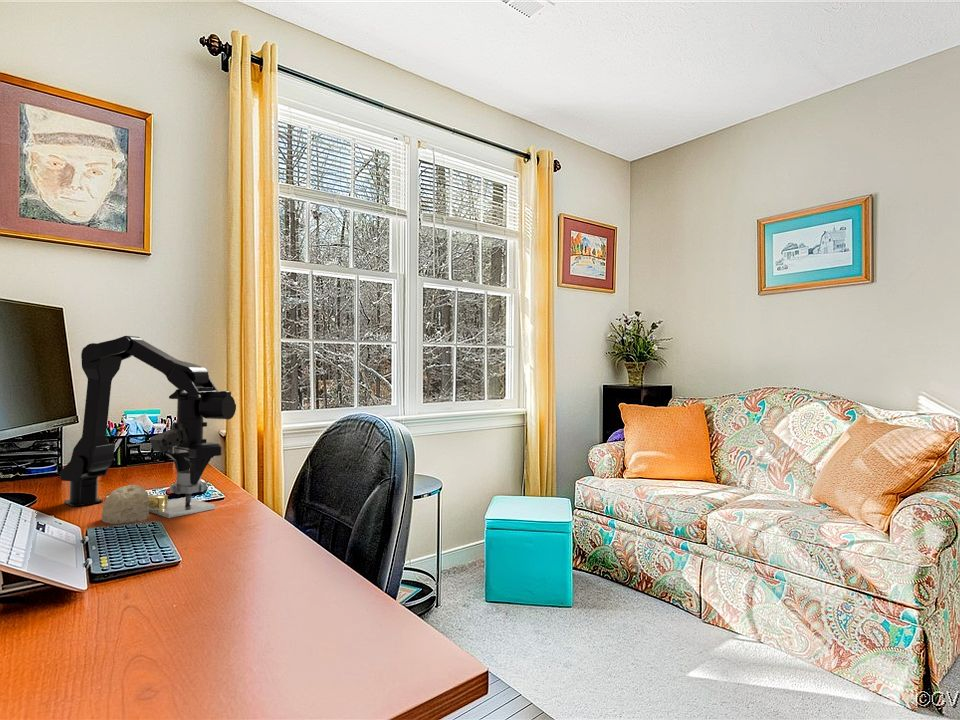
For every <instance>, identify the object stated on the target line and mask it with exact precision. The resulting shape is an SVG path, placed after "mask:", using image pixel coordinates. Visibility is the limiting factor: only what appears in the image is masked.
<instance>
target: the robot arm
mask: <svg viewBox="0 0 960 720" xmlns="http://www.w3.org/2000/svg"><path fill="white" fill-rule="evenodd" d="M80 353H81V355H80V356H81V357H80V358H81V360H80V361H81V369H82V371H83V372H84V374H85V376H86V379H87V384H86V385H87V387H86V394H85V404H84V414H83V424H82V434H81V438H80V439H79V440H78V442H77V443H76V444H75V446H74V448H73V450H72V452H71V453H72V454H71V457H70V461H69V462H68V463H67V464H66V465H65V466H64V467H63V468H62V469H61V470H60V471H59V477H60V480H61V481H62V482H69V500H68V499H67V500H63V504H65V505H68V506H71V507H80V506H86V505H87V506H88V505H93V504H94V505H95V504H99V503H103V502H104V500H103V499H101V498H98V492H99V491H98V485H99V483H98V482H99V481H98V480H99V477H103V476H106V475H107V472H108V469H109V467H110V466H112V462H113V461H114V460H115V449H116V445H115V443H110V442H109V439H108V438H107V432H108V431H107V429H108V420H109V411H110V401H111V389H112V383H113V382H112V381H113V379H114V378H115V376H116V375H117V373H118V372H119V370H120V369H121V365H122V361H123V360H126V359H130V358H131V357H134V358H136V359H137V360H139V361H140V362H143V363H144V364H146V365H148V366H150V367H151V368H153V369H155V370H156V371H159V372H160V373H162V374H163V375H165V377H166V379H167V381H168V382H169V383H171V384H172V385H173V386H174V387H176V388H177V389H175V391H174V392H173V393H171V394H170V395H169V396H168V399H169V400H177V403H176V404H177V406H176V407H177V408H176V421H175V422H173V423H172V424H171V429H169V430H166V431H163V432H160V433H158V434H156V435H154V436H151V437H150V438H149V441H150V442H149V443H150V445H151V447H152V450H153V452H159V453H165V455H166V456H167V457H169V458H171V459H172V460H173V463H174V465H175V469H176V473H177V472H179V471H185V470H190V477H191V484H192V485H195V484H197V483H198V481H199V479H200V477H201V478H202V475H203V473H204V471H205V469H206V468H207V466H208V464H209V462H211V459H213V458H214V457H219V456H222V454H223V453H222V451H223V446H222V445H220V444H219V443H217V442H211V441H209V442H207V438H204V427H205V428H206V427H207V426H208V422H206V421H204V419H208V420H231V419H232V418H233V417H234V416H235V414H236V410H237V404H236V401H235V399H234V397H233V396H232V391H231V390H220V391H219V390H218V389H217V388H216V386H215V384H214V383H213V381H212V380H211V378H210V376H209V371H208V370H207V368H206V367H204V366H201V365H199V364H198V365H197V364H195V363H191V362H187V361H183V360H180V359H177V358H175V357H174V356H171V355H170V354H168V353H167V352H166V351H163V350H161V349H160V348H157V347H155V346H154V345H152V344H151V343H149V342H147V341H145V340H144V339H143V338H142V337H140V336H136V335H135V336H133V335H124V336H121V337H117V338H115V339H111V340H105V341H102V342H99V343H95V342H92V343H88V344H87V345H85V346H84V347H83V348H82V350H81V352H80Z"/></svg>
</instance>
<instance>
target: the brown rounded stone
mask: <svg viewBox="0 0 960 720" xmlns="http://www.w3.org/2000/svg"><path fill="white" fill-rule="evenodd" d="M148 496H149V493H148V491H146V489H145V487H142V486H140V485H137V484H128V485H125V486H121V487H117V488H115V490H112V491H111V492H110V494H108V495H107V497H106V498H105V501H104V503H103V504H102V511H101V512H102V513H101V521H102V522H103V523H105V524H109V525H110V524H112V525H113V524H115V525H118V524H119V525H120V524H129V523H137V522H141V521H142V522H143V521H145V520H146V519H148V518H149V517H150V512H149V497H148Z"/></svg>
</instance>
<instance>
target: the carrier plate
mask: <svg viewBox="0 0 960 720" xmlns="http://www.w3.org/2000/svg"><path fill="white" fill-rule="evenodd" d="M148 497H149V513H153V514H156V515H158V516H161V517H164V518H167V519H172V518H177V517H181V516H187V515H191V514H196V513H201V512H205V511H207V512H208V511H211V510H215V509H216V505H215V504H213V503H210V502H206V501H203V500H199V499H195V498H193V497H192V494H188V493H185V496H184V497H180V498H179V497H178V498H174V499H169V498H168V497H169V495H168V494H148Z"/></svg>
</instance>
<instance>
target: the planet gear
mask: <svg viewBox="0 0 960 720" xmlns="http://www.w3.org/2000/svg"><path fill="white" fill-rule="evenodd" d="M207 487H208V482H206V481H202V476H201V477H200V479H199V481H198V483H197V484H195V485H192V484H191V477H190V469H189V470H185V471H179V472H177V471H176V482H173V484H170V485H169V492H170V493H174V494H175V495H180V494H186V493H188V494H191V495H192V494H194V493H203V492H204V491H205V490H207V489H208V488H207Z"/></svg>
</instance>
